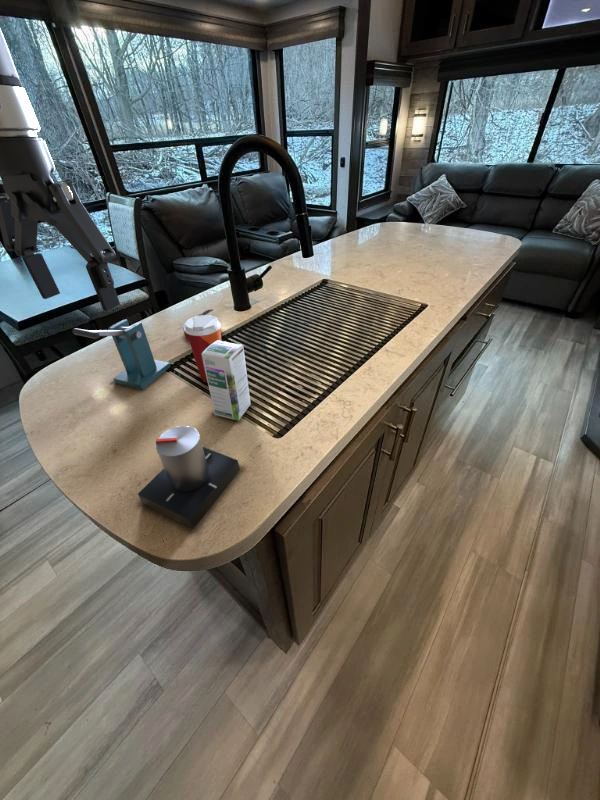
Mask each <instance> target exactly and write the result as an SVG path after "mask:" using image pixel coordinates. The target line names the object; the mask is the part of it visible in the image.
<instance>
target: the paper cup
mask: <svg viewBox="0 0 600 800" xmlns="http://www.w3.org/2000/svg"><path fill="white" fill-rule="evenodd" d="M184 325H185V327H184V330H183V332H184V331H185V333H187V336H188V339H189V342H188V343H189V346H190V348H191V352H192V355H193V358H194V361H195V364H196V368H197V370H198V374H199V377H200V379H201V381H202V382H203V383H205V384H208V381H207V377H206V373H205V368H204V364H203V359H202V353H203V351H204V350H205V349H206V348H207V347H209V346H210V345H211V344H213V343H214V342H216V341H217V340H219V341H222V334H221V327H222V324H221V322H220V321H219V320H218V318H217V317H216V316H214V315H210V314H206V315H200V316H198V315H195V316H192V317H189V318H188V319H187V320H186V321H185V323H184Z"/></svg>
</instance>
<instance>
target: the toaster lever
mask: <svg viewBox="0 0 600 800" xmlns="http://www.w3.org/2000/svg"><path fill="white" fill-rule="evenodd" d="M127 328H129V327H119V330H109V329H108V330H107V329H103V330H102V329H99V330H97V329H95V330H93V329H92V330H88V329H81V328H77V327H74V328H73V329H72V334H73V335H76V336H81V337H86V338H90V339H94V340H95V339H96V340H98V339H100V337H112V336H119V338H123V339H126V336H125V334H124V330H126V329H127Z"/></svg>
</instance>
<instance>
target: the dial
mask: <svg viewBox="0 0 600 800" xmlns="http://www.w3.org/2000/svg"><path fill="white" fill-rule="evenodd" d="M203 447H204V446H203V443H202V440H201V436H200V433H199V431H198V430H197V429H196V428H195V427H192V426H189V425H178V426H174V427H172V428H169V429H166V430H165V431H164V432H162V433H161V434H160V435H159V436H158V438H156V439H155V450H156V453H157V455H158V458H159V460H160V461H161V464H162V466H163V468H164V469H165V472H166V474H167V476H168V479H169V481H170V484H171V486H172V487H173V488H174V489H175V490H177V491H181V492H189V491H193V490H196V489H198V488H199V487H201V486H202V485H203V484H204V483H205V482H206V481H207V479H208V477H209V468H208V464H207V461H206V457H205V454H204V450H203Z"/></svg>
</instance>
